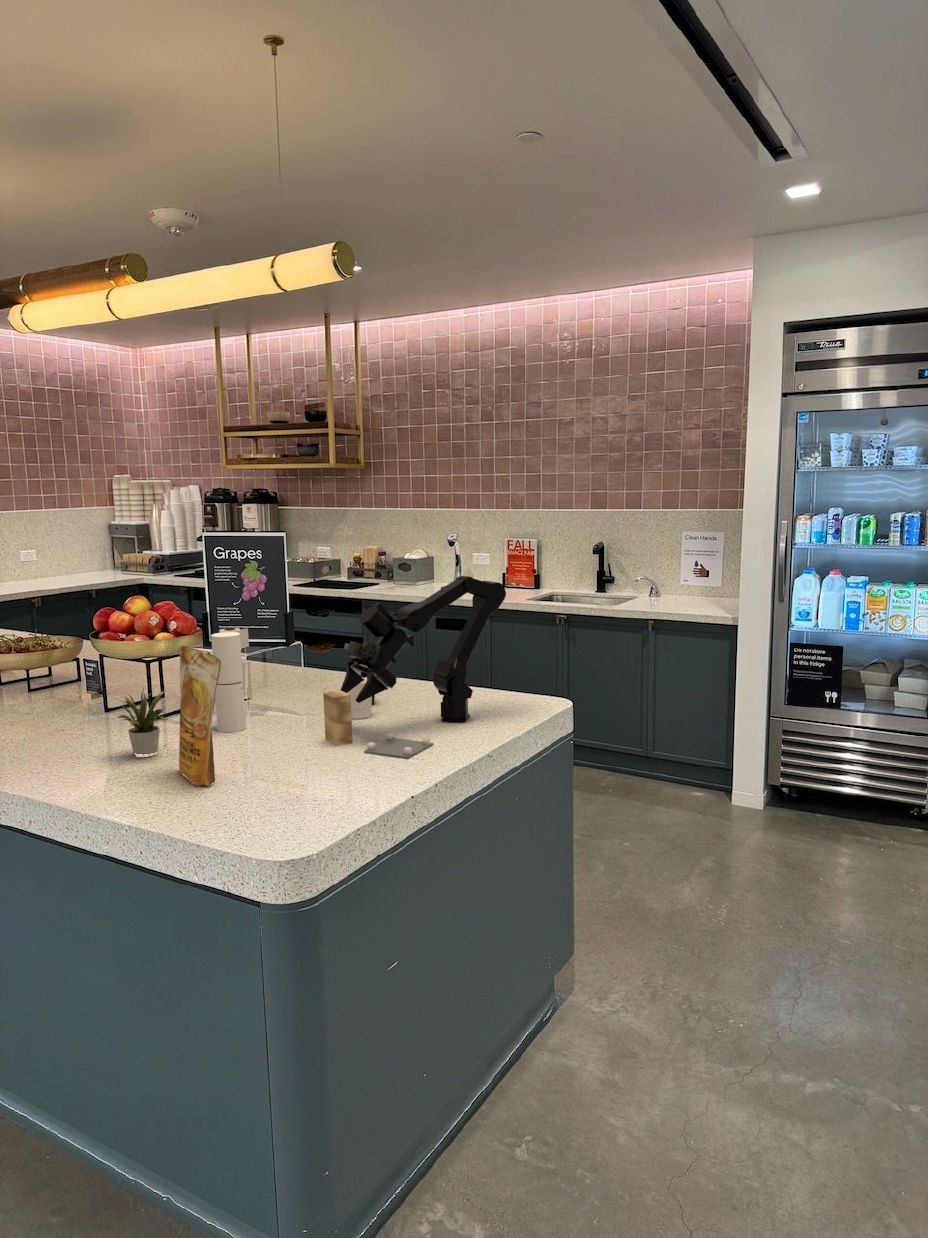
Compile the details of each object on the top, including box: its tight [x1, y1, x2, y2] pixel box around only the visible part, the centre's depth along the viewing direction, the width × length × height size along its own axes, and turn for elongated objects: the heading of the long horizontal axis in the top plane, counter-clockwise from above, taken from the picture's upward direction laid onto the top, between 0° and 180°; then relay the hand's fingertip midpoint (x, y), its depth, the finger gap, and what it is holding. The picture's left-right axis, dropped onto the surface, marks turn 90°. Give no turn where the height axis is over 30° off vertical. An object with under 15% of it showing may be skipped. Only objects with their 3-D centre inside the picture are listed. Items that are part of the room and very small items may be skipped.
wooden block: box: [322, 689, 354, 747], centre depth 221 cm, size 4×6×12 cm
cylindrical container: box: [210, 632, 247, 734], centre depth 233 cm, size 7×7×25 cm
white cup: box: [342, 677, 373, 720], centre depth 245 cm, size 8×8×10 cm
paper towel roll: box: [218, 627, 253, 700], centre depth 264 cm, size 7×6×21 cm
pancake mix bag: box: [178, 645, 221, 788], centre depth 195 cm, size 7×19×28 cm, turn 35°
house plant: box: [112, 687, 167, 755], centre depth 212 cm, size 14×14×16 cm
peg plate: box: [363, 732, 435, 760], centre depth 214 cm, size 12×12×2 cm
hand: (348, 698), depth 222 cm, fingers open, 9 cm apart
